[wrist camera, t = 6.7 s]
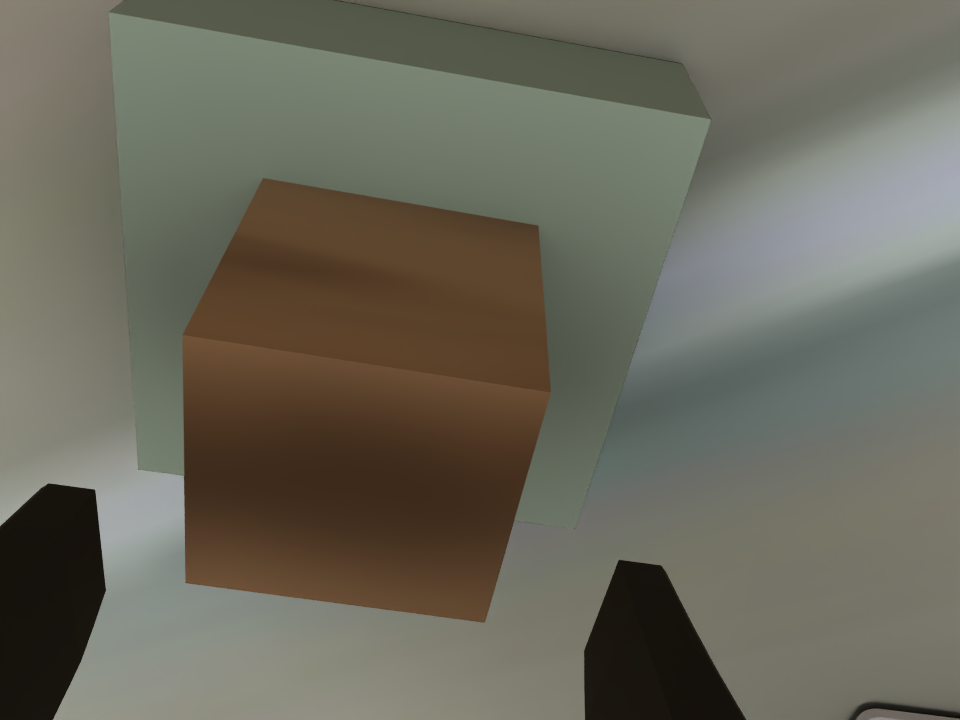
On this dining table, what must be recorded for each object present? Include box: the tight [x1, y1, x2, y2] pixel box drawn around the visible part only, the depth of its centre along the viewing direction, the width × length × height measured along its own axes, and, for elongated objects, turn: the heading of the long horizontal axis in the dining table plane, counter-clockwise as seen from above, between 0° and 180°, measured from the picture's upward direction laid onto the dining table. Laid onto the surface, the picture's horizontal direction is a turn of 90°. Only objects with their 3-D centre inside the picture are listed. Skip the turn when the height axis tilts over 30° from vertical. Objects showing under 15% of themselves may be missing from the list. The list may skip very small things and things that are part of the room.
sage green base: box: [108, 0, 712, 529], centre depth 19 cm, size 10×10×3 cm
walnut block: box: [182, 178, 551, 622], centre depth 16 cm, size 5×5×5 cm
